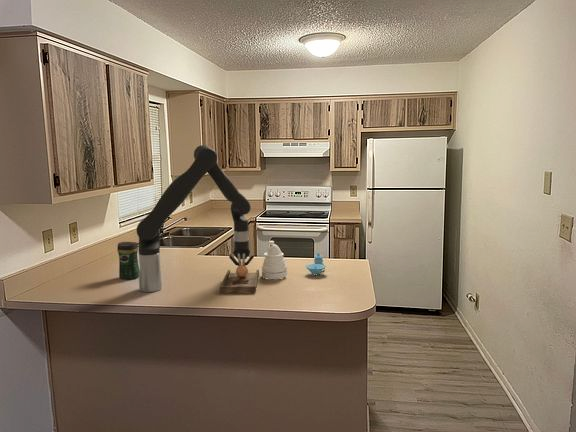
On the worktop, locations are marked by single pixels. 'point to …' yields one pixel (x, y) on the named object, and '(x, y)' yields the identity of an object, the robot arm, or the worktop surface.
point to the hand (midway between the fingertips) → (242, 273)
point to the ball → (241, 271)
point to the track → (233, 278)
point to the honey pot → (274, 263)
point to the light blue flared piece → (316, 265)
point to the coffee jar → (128, 260)
